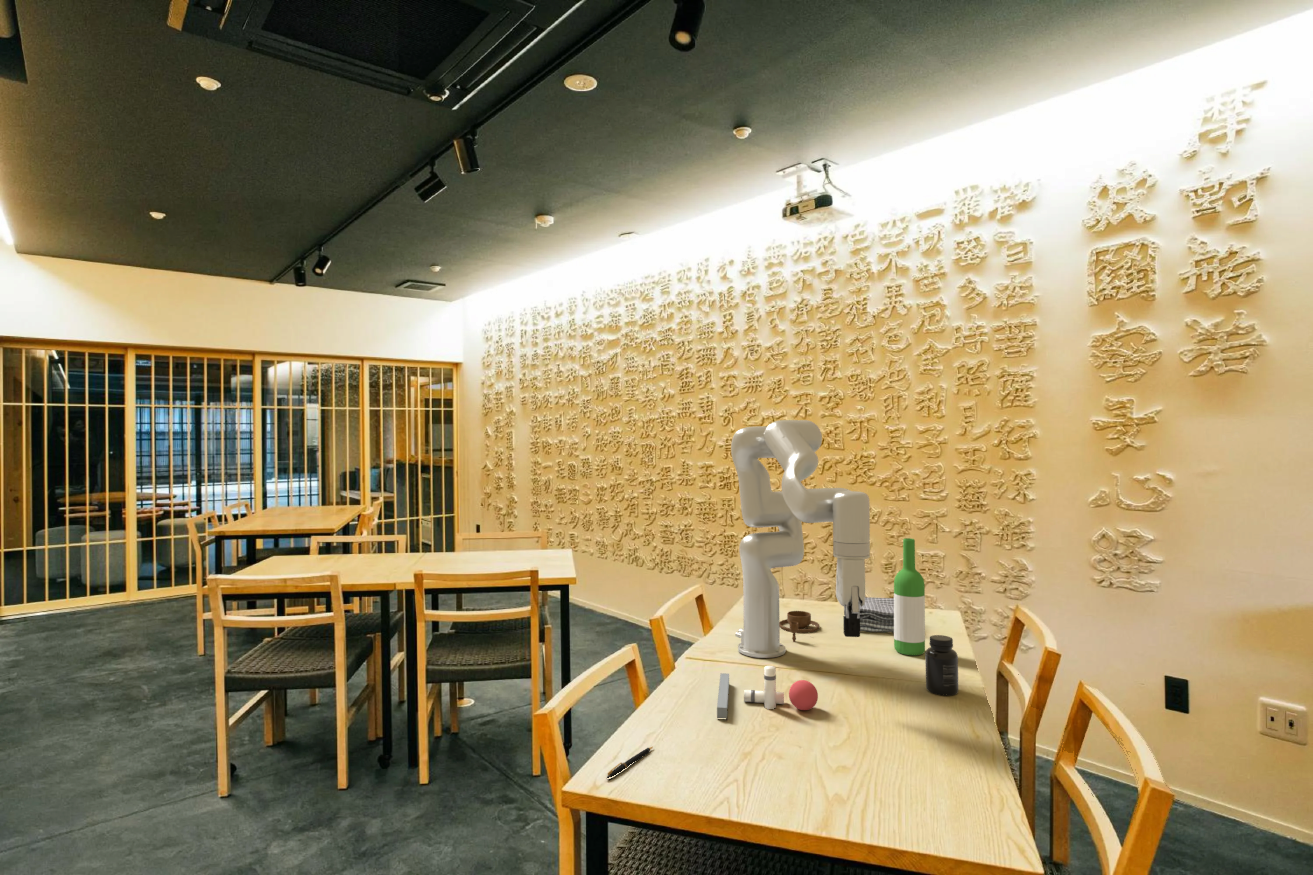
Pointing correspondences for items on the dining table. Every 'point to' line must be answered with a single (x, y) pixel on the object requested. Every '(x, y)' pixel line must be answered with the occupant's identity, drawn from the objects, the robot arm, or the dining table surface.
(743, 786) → the dining table surface
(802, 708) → the ball
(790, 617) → the place setting
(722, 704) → the gray square bar
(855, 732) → the dining table surface
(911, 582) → the wine bottle
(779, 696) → the pin
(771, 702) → the pin
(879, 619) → the towel
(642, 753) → the fountain pen
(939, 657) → the supplement bottle
